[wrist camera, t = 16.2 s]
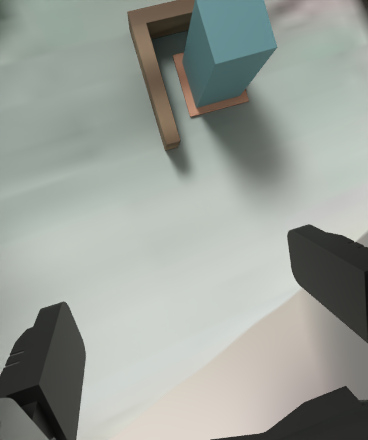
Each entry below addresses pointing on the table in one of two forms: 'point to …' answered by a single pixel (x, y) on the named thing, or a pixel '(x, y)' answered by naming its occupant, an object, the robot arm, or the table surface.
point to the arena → (165, 25)
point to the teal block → (226, 48)
